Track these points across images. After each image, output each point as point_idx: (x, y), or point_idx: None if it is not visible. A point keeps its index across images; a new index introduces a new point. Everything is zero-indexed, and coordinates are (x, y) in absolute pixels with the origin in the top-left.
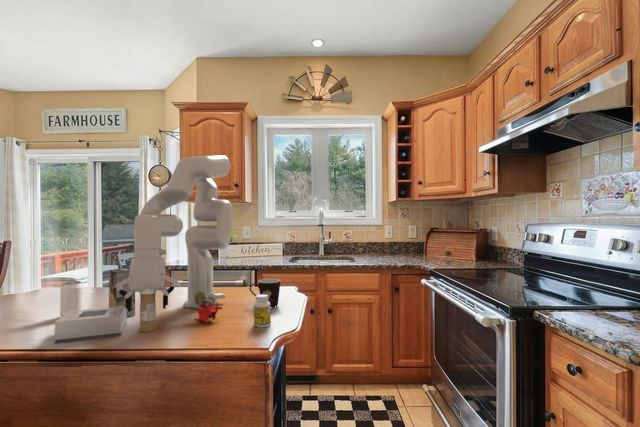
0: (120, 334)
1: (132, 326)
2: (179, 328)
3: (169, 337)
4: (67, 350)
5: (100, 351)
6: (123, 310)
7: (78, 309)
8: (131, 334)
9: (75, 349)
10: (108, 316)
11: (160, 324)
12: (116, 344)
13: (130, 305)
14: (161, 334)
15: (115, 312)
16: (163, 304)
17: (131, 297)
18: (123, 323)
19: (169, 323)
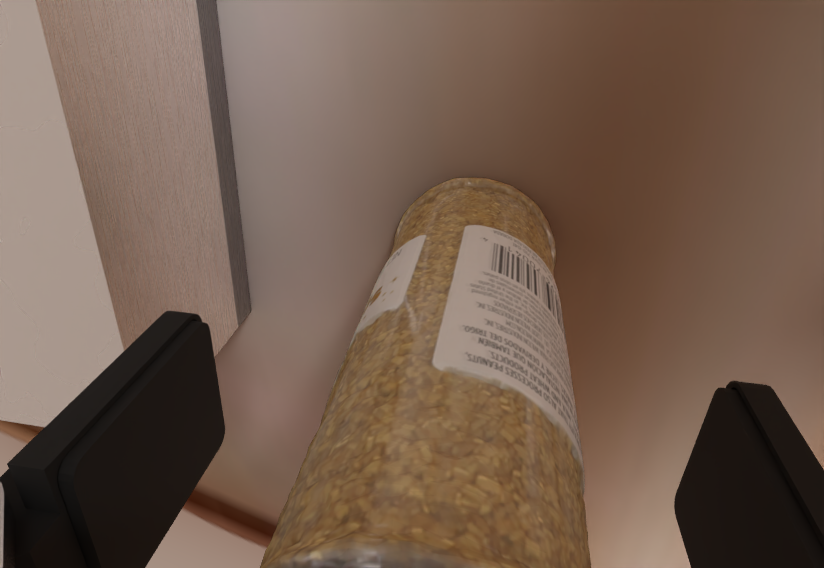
0: (244, 318)
1: (301, 18)
2: (789, 353)
3: (629, 515)
4: (4, 421)
5: (207, 521)
6: (81, 194)
7: None
8: (334, 309)
9: (43, 427)
10: (17, 407)
11: (635, 94)
12: (268, 465)
13: (181, 507)
14: (583, 428)
15: (12, 265)
16: (701, 563)
17: (80, 511)
18: (194, 156)
19: (755, 102)
